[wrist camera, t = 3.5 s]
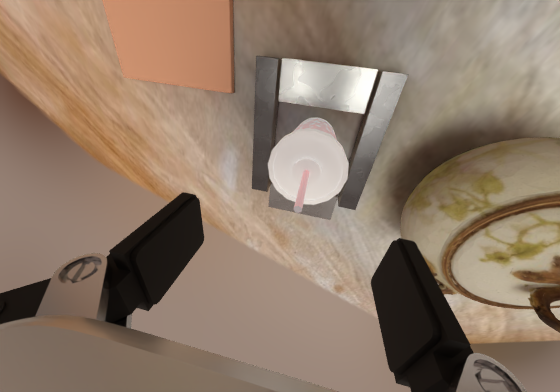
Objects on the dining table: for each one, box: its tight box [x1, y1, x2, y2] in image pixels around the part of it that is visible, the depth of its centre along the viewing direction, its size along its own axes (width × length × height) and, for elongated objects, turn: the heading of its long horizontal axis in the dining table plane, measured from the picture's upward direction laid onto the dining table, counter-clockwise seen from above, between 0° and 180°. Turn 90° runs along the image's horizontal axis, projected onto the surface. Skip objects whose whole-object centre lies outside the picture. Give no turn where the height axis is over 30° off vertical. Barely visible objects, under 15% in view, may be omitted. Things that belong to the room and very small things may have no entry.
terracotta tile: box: [102, 0, 234, 93], centre depth 19 cm, size 13×13×1 cm
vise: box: [252, 56, 408, 220], centre depth 20 cm, size 13×14×5 cm
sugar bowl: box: [400, 137, 560, 332], centre depth 16 cm, size 20×15×15 cm
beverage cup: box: [268, 117, 349, 213], centre depth 17 cm, size 6×6×14 cm
